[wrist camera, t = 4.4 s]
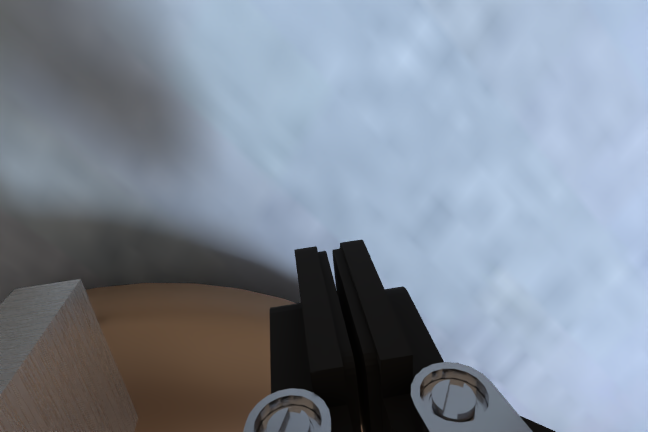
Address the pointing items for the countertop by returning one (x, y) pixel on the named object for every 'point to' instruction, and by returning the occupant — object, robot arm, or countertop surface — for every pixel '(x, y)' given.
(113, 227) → the countertop surface
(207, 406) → the turntable
